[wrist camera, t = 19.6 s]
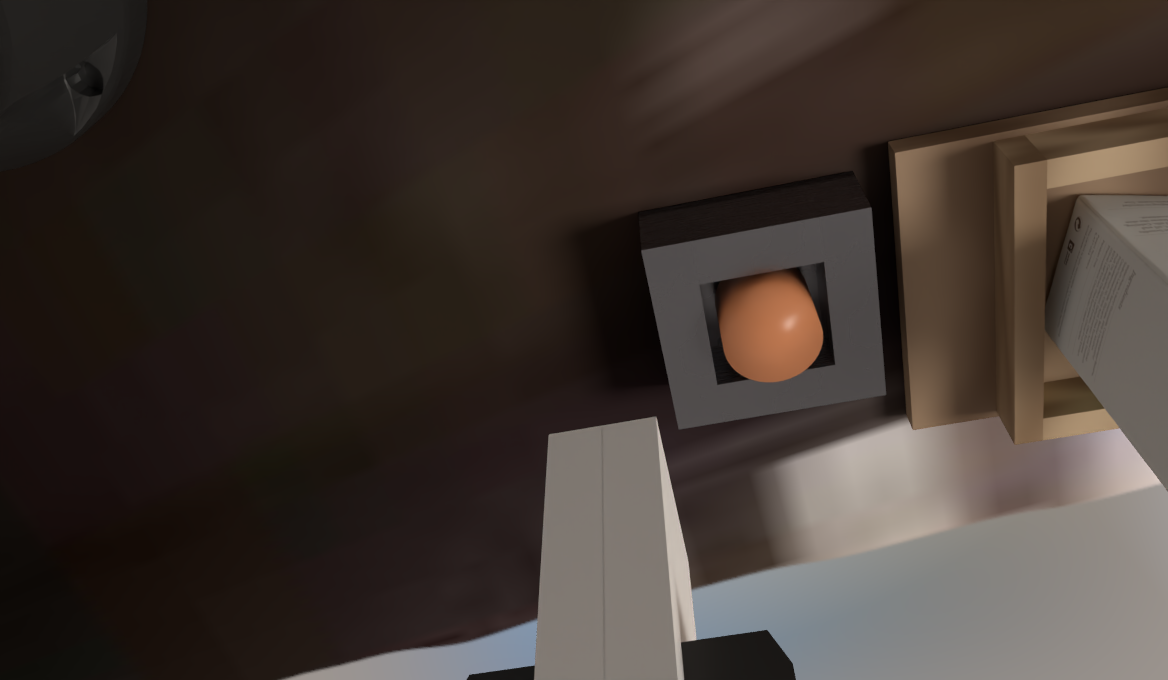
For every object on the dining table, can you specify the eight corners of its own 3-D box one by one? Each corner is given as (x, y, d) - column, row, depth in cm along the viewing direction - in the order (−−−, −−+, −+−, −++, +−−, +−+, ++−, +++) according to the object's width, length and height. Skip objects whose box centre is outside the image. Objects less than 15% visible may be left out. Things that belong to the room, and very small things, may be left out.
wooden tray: (906, 414, 50) (927, 464, 47) (888, 141, 43) (911, 178, 40) (1355, 341, 48) (1408, 388, 45) (1415, 39, 41) (1483, 69, 38)
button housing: (673, 384, 50) (679, 429, 47) (638, 212, 45) (641, 250, 42) (868, 350, 49) (886, 394, 46) (852, 171, 44) (871, 207, 41)
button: (722, 344, 47) (730, 389, 44) (708, 266, 45) (716, 308, 42) (812, 328, 47) (827, 373, 44) (803, 248, 44) (818, 290, 42)
